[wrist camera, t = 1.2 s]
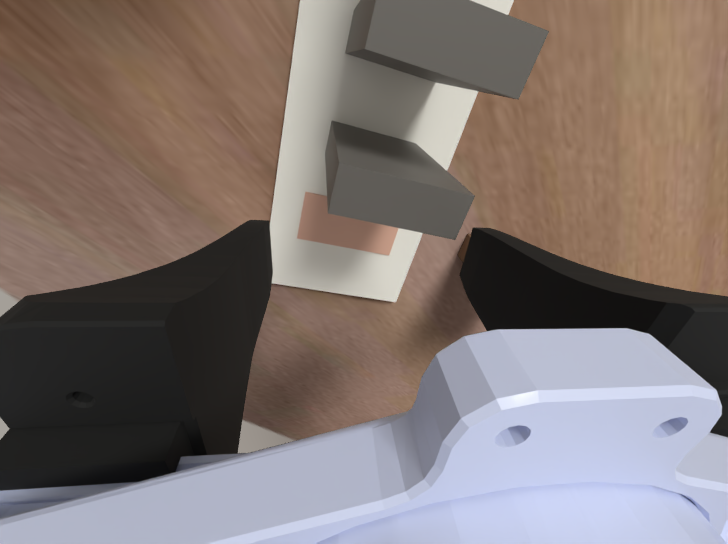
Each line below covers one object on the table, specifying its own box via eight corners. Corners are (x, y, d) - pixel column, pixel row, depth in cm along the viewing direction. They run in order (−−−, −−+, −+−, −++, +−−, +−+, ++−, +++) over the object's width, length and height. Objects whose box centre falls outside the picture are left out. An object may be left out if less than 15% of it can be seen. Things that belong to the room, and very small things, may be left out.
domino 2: (405, 173, 20) (455, 239, 13) (325, 153, 19) (327, 213, 12) (415, 143, 20) (474, 196, 12) (331, 120, 18) (339, 163, 11)
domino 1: (435, 82, 18) (518, 99, 10) (345, 53, 17) (365, 48, 9) (448, 43, 17) (548, 31, 10) (353, 9, 16) (383, -34, 8)
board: (394, 297, 26) (396, 303, 26) (263, 277, 24) (262, 282, 23) (682, -452, 11) (702, -480, 10) (396, -704, 9) (401, -760, 8)
